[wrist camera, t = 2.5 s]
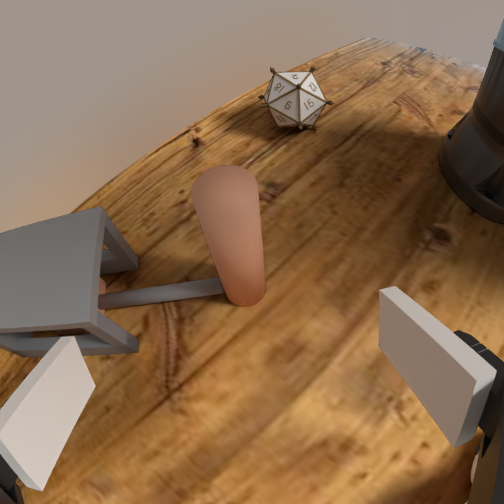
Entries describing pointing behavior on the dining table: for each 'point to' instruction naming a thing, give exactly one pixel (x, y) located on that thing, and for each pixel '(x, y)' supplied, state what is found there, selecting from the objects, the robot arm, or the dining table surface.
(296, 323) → the dining table surface
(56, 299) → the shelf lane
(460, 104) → the dining table surface
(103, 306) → the block
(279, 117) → the game die
